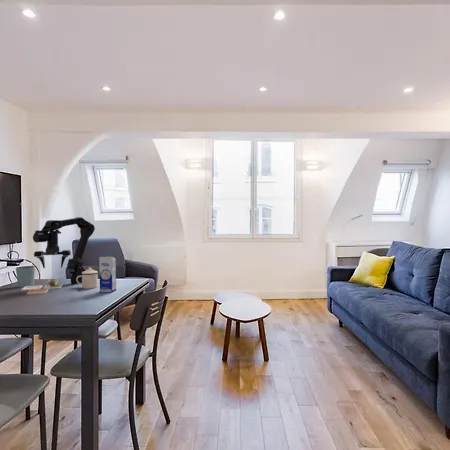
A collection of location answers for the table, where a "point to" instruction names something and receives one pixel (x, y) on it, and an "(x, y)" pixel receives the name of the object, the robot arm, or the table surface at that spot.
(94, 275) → the teacup with lid
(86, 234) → the robot arm
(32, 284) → the teal patterned cup
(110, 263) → the milk carton
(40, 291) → the dish
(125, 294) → the table surface
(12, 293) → the table surface
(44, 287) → the dish
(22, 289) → the dish
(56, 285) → the letter cube
